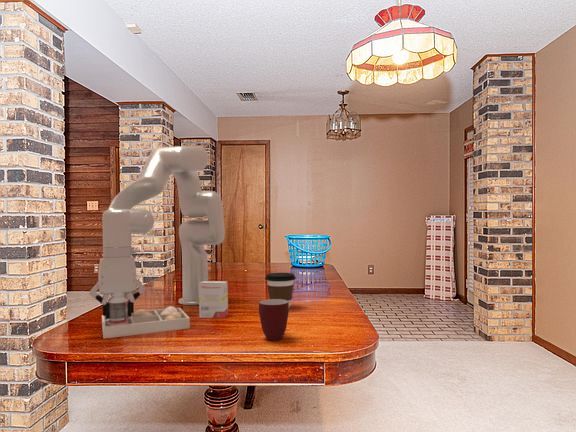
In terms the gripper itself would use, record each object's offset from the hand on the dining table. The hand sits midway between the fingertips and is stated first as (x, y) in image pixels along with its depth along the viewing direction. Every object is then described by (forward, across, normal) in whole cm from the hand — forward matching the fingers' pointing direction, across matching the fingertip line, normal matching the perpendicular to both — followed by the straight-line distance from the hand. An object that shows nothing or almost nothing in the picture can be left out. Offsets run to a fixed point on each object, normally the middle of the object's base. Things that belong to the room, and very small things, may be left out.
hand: (118, 316), depth 126 cm
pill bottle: (+2, 0, 0) cm, 2 cm away
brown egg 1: (+5, -8, -8) cm, 12 cm away
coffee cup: (+5, -55, -11) cm, 56 cm away
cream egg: (+5, -15, -8) cm, 18 cm away
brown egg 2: (+5, -15, 0) cm, 16 cm away
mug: (+5, -39, +22) cm, 45 cm away
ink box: (+6, -30, -8) cm, 31 cm away
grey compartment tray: (+5, -8, -4) cm, 10 cm away
